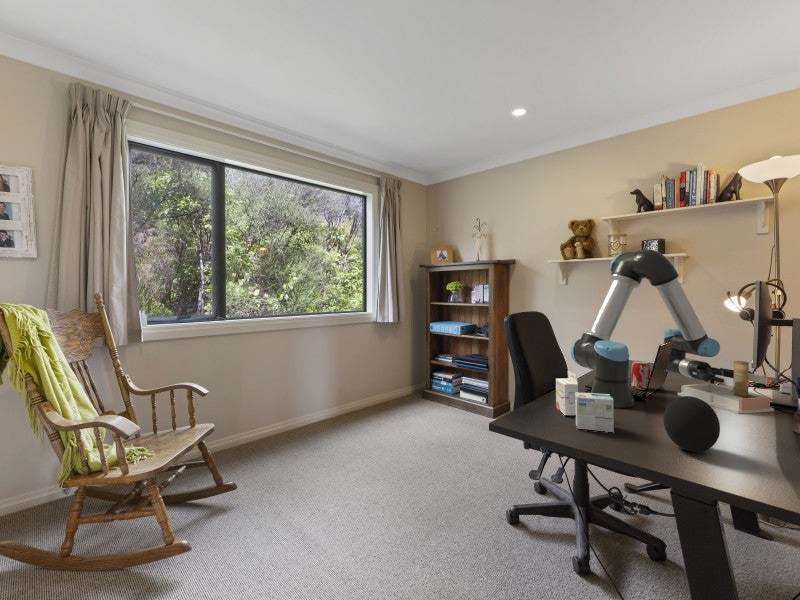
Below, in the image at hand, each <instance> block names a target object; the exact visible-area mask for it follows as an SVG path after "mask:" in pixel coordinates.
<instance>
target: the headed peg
mask: <svg viewBox="0 0 800 600" xmlns="http://www.w3.org/2000/svg"><path fill="white" fill-rule="evenodd" d="M749 366H750V365H749V361H743V360H734V361H733V370H734V378H733V379H735V387H733V390H734V395H736V396H739V397H743V398H748V392H749V381H748V375H749V371H750V369H749Z"/></svg>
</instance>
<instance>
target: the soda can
mask: <svg viewBox="0 0 800 600" xmlns="http://www.w3.org/2000/svg"><path fill="white" fill-rule="evenodd" d="M630 370H631V371H630V372H631V373H630V375H631V377H630V378H631V379H630V380H631V382H630V383H631V387H632V386H636V387H641V388H645V387H646V386H647V383H648V380H649V377H650V378H651V366H650V364H649V361H644V360H633V361H632V364H631V369H630Z"/></svg>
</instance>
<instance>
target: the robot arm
mask: <svg viewBox="0 0 800 600" xmlns="http://www.w3.org/2000/svg"><path fill="white" fill-rule="evenodd" d="M609 270H610V276H609V278H610V280H611V283H610V284H609V287H608V289H607V292H606V293H605V296H604V297H603V299H602V301H601V304H600V306H599V308H598V310H597V312H596V315H595V317H594V319H593V321H592V323H591V325H590V328H589V329H588V330H587V331H584V332H583V333H582V335H581V337H580V338H579V339H577V340H574V342H572V344H571V347H570V356H571V358H572V360H573V361H574V363H575V364H577V365H579V366H580V367H583V368H585V369H589V370H592V371H594V381H593V382H594V383H593V384H592V388H591V391H590V393H596V394H610V396H611V397H612V398H613V404H614V408H618V409H619V408H620V409H622V408H623V409H624V408H631V407H633V406H634V405H635V399H634V396H633V392H632V391H631V387H630V383H629V381H630V380H629V379H630V378H629V376H630V375H629V374H630V373H629V371H630V370H629V369H630V368H629V367H630V364H629V363H630V354H629V353H630V352H629V348H628V346H627V345H626V344H624V343H622V342H619V341H613V340H611V337H612V335H613V333H614V330H615V329H616V327H617V324H618V322H619V320H620V318H621V316H622V313H623V312H624V309H625V307H626V305H627V303H628V301H629V299H630V296H631V295H632V293H633V291H634V289H636V288H639V287H640V285H641V283H642V281H643V279H646V280H647V281H649V284H650V285H651V286H652V287H654V288H656V290H657V291H658V294H659V295H660V297H661V298H662V301H663V303H664V304H665V306H666V308H667V310H668V311H669V312H668V313H670V315H671V317H672V319H673V321H674V323H675V325H676V326H677V328H667V329H665V330H664V331H663V345H664V344H666V343H669V342H672V341H675V342H674V343H673V345H672V348H671V351H670V355H669V358H668V365H667V369H666V371H665V372H668V373H671V374H676V375H680V376H683V377H684V376H685V377H687V378H688V379H695V380H700V381H703V382H707V383H708V382H709V384H714V385H715V383H717V384H721V385H725V386H729V387H733V388H734V387H735V379H734V369H730V368H729V369H728V368H723V367H720V368H717V367H713V366H711V364H710V363H708V362H707V361H703V360H697V359H693V358H687V356H686V355H687V354H690V355H695V356H699V357H703V358H713V357H716V356H717V355H718V354H720V351H721V344H720V343H719V342H720V341H717V339H715V338H713V337H712V338H711V337H709V336H708V333H706V331H705V328H704V327H703V324H702V323H701V320H700V319H699V317H698V316H697V313H696V311H695V310H694V307H693V306H692V304H691V302H690V301H689V298H688V296H687V295H686V293H685V291H684V289H683V286H682V285H681V283H680V281H679V280H678V278H679V277H680V275H679V273H678V272H677V271H678V270H677V269H676V268H675V266H674V265H673V263H672V262H671V261H670V260H669V259H668V258H667V257H666V256H665V255H663V253H661V252H659V251H657V250H654V249H649V248H648V249H643V250H634V251H625V252H622V253H619V254H617V255H615V256H614V257H613V259H612V260H611V262H610V264H609ZM675 343H676V345H675ZM671 355H672V356H671ZM748 382H754V383H757V384H762V385H768V376H764V375H760V374H755V373H753V372H752V371H750V370H749V375H748Z"/></svg>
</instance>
